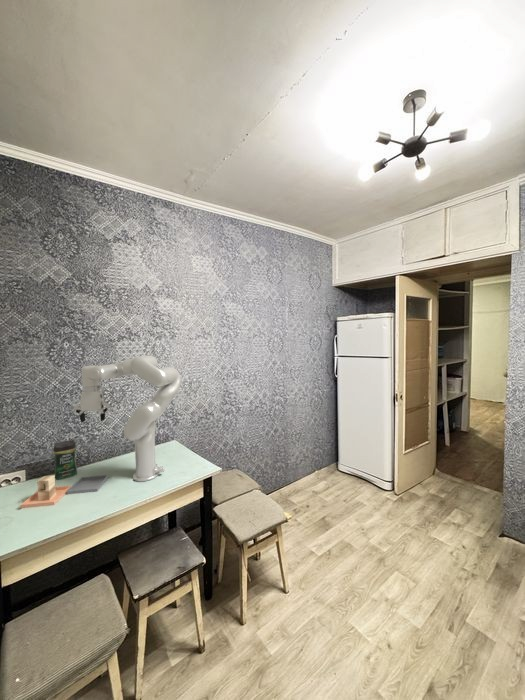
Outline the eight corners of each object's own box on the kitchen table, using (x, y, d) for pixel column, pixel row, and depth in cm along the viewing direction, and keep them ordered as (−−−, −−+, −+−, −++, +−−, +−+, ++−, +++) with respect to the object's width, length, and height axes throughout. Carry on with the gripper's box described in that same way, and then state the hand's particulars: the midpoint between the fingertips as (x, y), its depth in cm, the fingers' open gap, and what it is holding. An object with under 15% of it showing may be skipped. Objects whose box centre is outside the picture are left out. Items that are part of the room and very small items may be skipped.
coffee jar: (54, 482, 139) (52, 446, 138) (55, 476, 145) (53, 441, 144) (77, 476, 144) (75, 441, 143) (77, 470, 151) (75, 437, 150)
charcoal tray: (109, 478, 142) (109, 474, 142) (97, 492, 129) (97, 488, 129) (81, 480, 140) (81, 476, 140) (66, 495, 127) (66, 491, 127)
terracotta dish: (71, 489, 132) (70, 485, 132) (54, 506, 119) (54, 501, 119) (40, 492, 130) (40, 488, 130) (20, 509, 117) (20, 505, 117)
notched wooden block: (55, 494, 127) (54, 475, 126) (49, 500, 122) (48, 480, 122) (45, 495, 126) (44, 476, 126) (38, 501, 122) (37, 481, 121)
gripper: (111, 387, 150) (113, 418, 151) (77, 388, 148) (79, 420, 149) (105, 389, 143) (107, 422, 144) (69, 391, 141) (71, 424, 141)
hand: (93, 421), depth 146 cm, fingers open, 9 cm apart
